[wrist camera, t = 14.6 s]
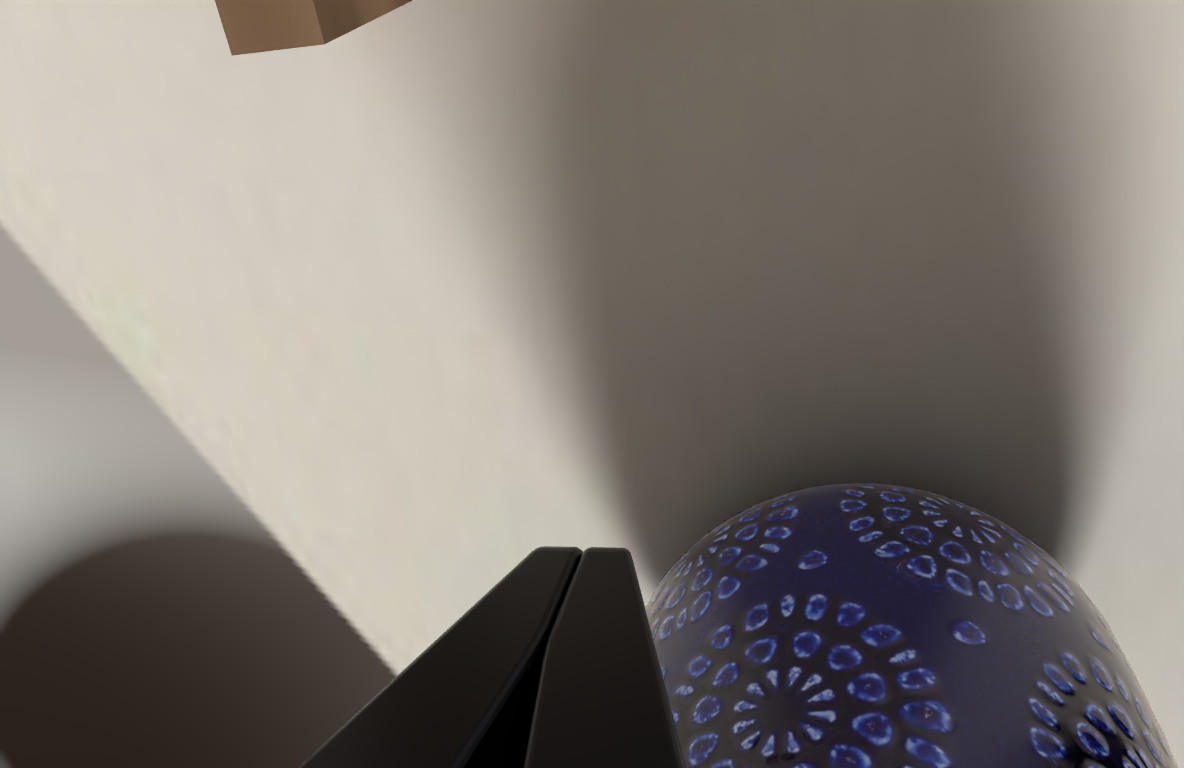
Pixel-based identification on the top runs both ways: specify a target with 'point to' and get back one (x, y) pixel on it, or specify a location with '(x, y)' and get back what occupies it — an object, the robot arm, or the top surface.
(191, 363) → the top surface
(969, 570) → the planter
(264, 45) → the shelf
